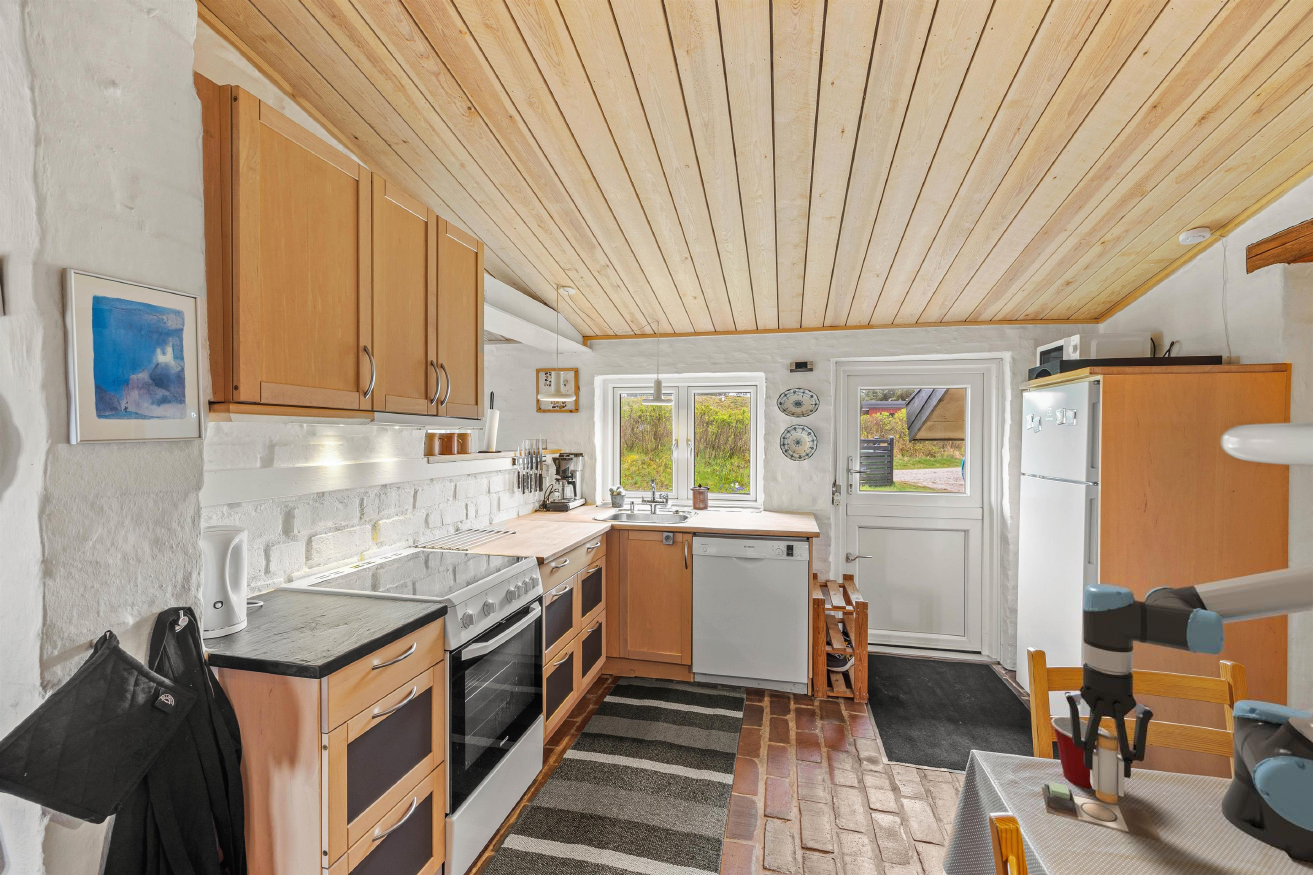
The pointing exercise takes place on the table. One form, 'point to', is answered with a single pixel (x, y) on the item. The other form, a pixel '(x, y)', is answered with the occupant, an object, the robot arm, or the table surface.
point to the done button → (1059, 790)
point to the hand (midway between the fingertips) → (1106, 788)
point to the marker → (1107, 766)
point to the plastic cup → (1072, 752)
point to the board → (1101, 814)
